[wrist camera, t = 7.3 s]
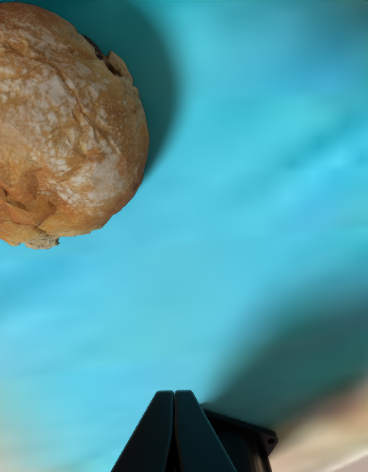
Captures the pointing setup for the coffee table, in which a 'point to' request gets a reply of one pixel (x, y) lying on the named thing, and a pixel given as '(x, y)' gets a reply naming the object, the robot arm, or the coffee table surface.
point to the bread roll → (63, 130)
